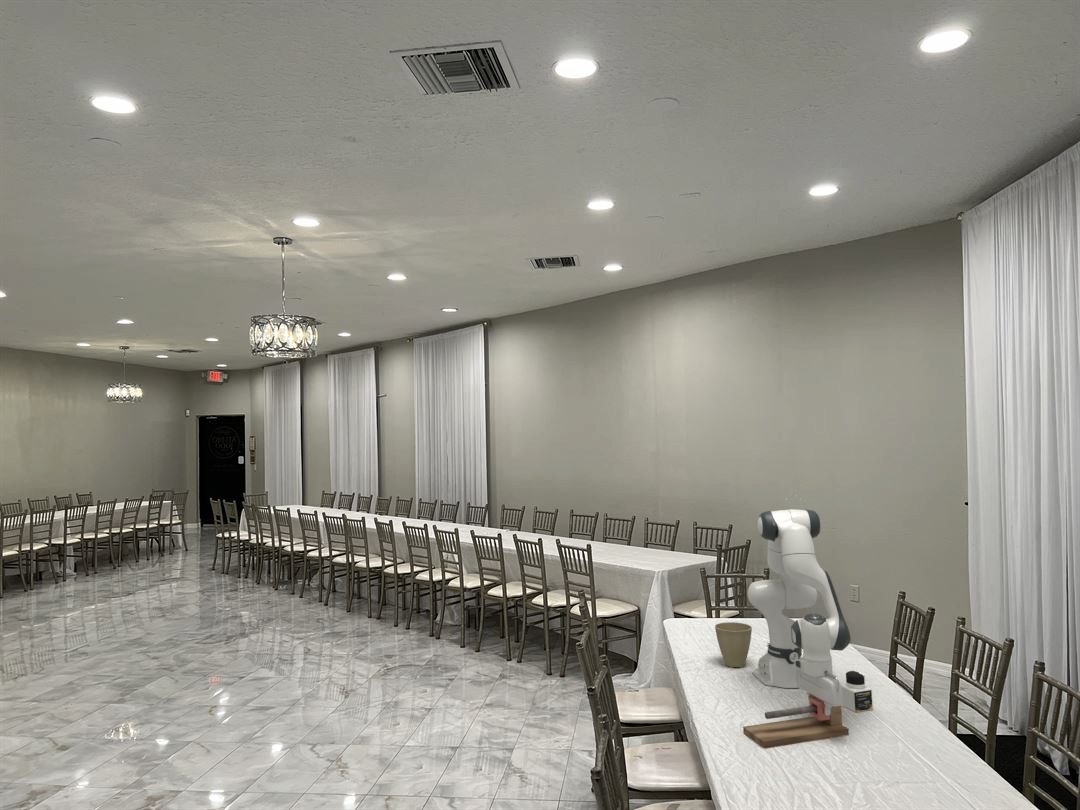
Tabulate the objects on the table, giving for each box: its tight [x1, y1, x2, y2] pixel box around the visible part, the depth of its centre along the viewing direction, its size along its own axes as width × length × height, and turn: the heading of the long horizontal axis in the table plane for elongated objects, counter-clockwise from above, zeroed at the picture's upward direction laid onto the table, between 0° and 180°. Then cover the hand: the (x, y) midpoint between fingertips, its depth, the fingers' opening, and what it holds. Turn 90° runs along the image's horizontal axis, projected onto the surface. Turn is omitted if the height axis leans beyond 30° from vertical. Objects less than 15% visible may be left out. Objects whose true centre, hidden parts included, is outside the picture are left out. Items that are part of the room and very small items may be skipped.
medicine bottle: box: [841, 670, 874, 713], centre depth 247 cm, size 7×7×12 cm
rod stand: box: [742, 705, 850, 749], centre depth 228 cm, size 12×30×9 cm, turn 104°
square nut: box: [808, 696, 830, 721], centre depth 230 cm, size 6×4×6 cm, turn 14°
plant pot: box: [714, 621, 753, 668], centre depth 297 cm, size 15×15×16 cm
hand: (820, 710), depth 230 cm, fingers closed on square nut, 6 cm apart
